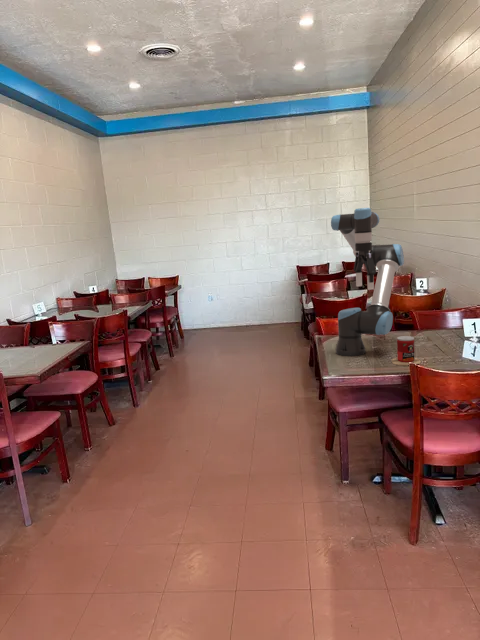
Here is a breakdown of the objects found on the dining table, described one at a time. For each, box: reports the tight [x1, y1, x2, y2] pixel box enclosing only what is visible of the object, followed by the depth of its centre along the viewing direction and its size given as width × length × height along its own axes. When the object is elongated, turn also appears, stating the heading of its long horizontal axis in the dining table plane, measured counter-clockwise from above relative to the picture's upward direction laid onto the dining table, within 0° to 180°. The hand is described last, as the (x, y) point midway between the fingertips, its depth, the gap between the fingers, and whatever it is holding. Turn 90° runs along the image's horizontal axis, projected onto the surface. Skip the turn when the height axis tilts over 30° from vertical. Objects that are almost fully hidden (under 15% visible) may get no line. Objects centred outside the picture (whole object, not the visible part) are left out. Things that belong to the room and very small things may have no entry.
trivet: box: [391, 357, 422, 367], centre depth 226 cm, size 13×13×1 cm
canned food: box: [396, 335, 415, 362], centre depth 225 cm, size 8×8×11 cm
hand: (364, 287), depth 224 cm, fingers open, 13 cm apart
